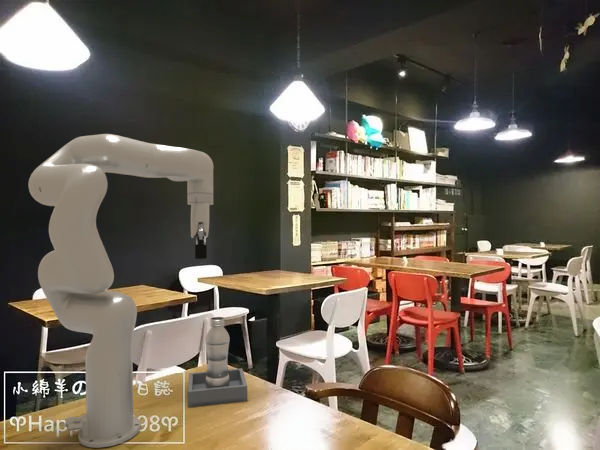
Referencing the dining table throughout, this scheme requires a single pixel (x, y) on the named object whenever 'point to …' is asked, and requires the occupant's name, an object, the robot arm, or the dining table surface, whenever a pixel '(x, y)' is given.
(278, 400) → the dining table surface
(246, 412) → the dining table surface
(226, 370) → the plastic bottle
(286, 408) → the dining table surface
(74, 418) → the robot arm
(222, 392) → the grey bin
